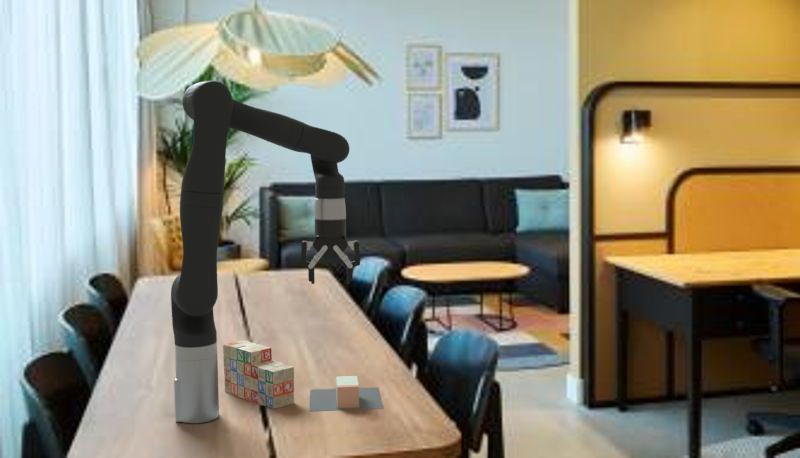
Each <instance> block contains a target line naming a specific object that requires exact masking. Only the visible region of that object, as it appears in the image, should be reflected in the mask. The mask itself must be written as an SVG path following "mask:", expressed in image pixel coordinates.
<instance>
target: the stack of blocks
mask: <svg viewBox="0 0 800 458" xmlns="http://www.w3.org/2000/svg"><path fill="white" fill-rule="evenodd" d="M222 352H223V353H222V354H223V372H224V392H225V393H226V392H227V393H228V394H231V395H233V396H236V397H238V398H241V399H243V400H246V401H250V402H252V403H254V404H256V405H260V406H262V407H263V406H265V407H267V408H271V409H273V410H274V409H278V408H281V407H286V406H288V405H289V406H290V405H292V404H295V395H294V394H295V385H294V384H295V381H294V380H295V367H294V366H292V365H288V364H286V363H283V362H280V361H277V360H273V359H272V356H273V355H272V347H268V346H265V345H262V344H260V343H259V344H258V343H254V342H251V341H248V340H246V339H245V340H242V339H241V340H237V341H234V342H233V341H232V342H229V343H223V344H222Z"/></svg>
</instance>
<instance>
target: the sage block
mask: <svg viewBox="0 0 800 458" xmlns="http://www.w3.org/2000/svg"><path fill="white" fill-rule="evenodd" d="M335 381H336V382H335V383H336V388H335V389H336V390H337V407H338V408H359V388H360V385H359V380H358V376H357V375H349V376H347V375H346V376H345V375H344V376H343V375H342V376H336V377H335Z"/></svg>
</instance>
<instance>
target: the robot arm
mask: <svg viewBox="0 0 800 458" xmlns="http://www.w3.org/2000/svg"><path fill="white" fill-rule="evenodd" d="M181 103H182V109H183V110H184V112H185V114H186V115H187V116H188V117H189V119H191V120H193V139H192V147H191V151H190V154H189V157H188V160H187V163H186V166H185V168H184V171H183V176H182V181H181V186H180V198H179V199H180V200H179V221H180V223H179V224H180V233H181V239H182V251H183V252H182V260H181V261H182V263H181V270H180V273H179V275H177V276H176V277H175V279H174V280H173V282H172V285H171V289H170V302H171V303H170V305H171V319H172V321H171V323H172V325H171V326H172V331H173V336H174V337H173V338H174V355H175V358H174V359H175V363H174V364H175V378H174V381H173V386H174V412H175V423H176V422H177V423H178V422H180V423H186V424H201V423H208V422H211V421H214V420H216V419H218V418H219V417H220V403H219V402H220V399H219V397H220V396H219V395H220V394H219V393H220V390H219V365H218V362H219V361H218V342H217V341H218V337H217V336H218V335H217V334H218V333H217V328H216V324H215V316H214V307H215V305H216V304H217V301H218V297H219V294H218V292H219V288H218V287H219V286H218V264H217V262H218V247H219V240H220V235H221V234H220V233H221V225H222V217H223V209H224V208H223V207H224V196H225V194H224V193H225V177H226V175H225V174H226V173H225V171H226V157H227V156H226V154H227V153H226V152H227V150H226V149H227V143H228V136H229V130H230V129H231V130H232V129H233V130H236V131H239V132H241V133H245V134H247V135H250V136H253V137H256V138H258V139H261V140H264V141H266V142H268V143H270V144H271V143H272V144H274V145H276V146H278V147H282V148H284V149H286V150H287V149H288V150H289V151H294V152H298V153H305V154H307V155H310V161H311V167H312V171H313V175H314V180H315V185H314V187H315V189H314V190H315V192H314V193H315V200H314V215H313V216H314V239H313V241H307V240H302V243H301V249H300V251H301V256H300V265H301V266H302V267H304V268H307V270H308V272H307V273H308V274H307V275H308V281H309V282H310V283H311V285H315V283H316V282H315V266H316V265H317V263H318V262H319V261H320V259H321V258H322V259H324V260H330V259H332V260H338V259H341V260H342V261H343V263H344V264H345V265H346V284H348V285H349V284H350V282H353V277H354V276H353V269H354V268H355V267H358V266H360V265H361V258H360V257H361V255H360V243H359V240H356V239H355V240H352V241H351V240H350V241H348V240H347V209H346V208H347V207H346V200H345V198H346V196H345V195H346V194H345V193H346V192H345V190H346V185H345V178H344V175H342V173H340V171H339V166H338V164H339V163H341V162H343V161H345V160H346V159H347V158H348V156H349V154H350V145H349V142H348V140H347V139H346V138H345V137H344V136H343V135H341V134H340V133H337V132H334V131H331V130H328V129H324V128H320V127H315V126H312V125H309V124H307V123H305V122H303V121H301V120H298V119H295V118H293V117H290V116H287V115H284V114H281V113H278V112H274V111H270V110H268V109H267V110H266V109H261V108H258V107H254V106H252V105H248V104H246V103H243V102H241V101H238V100H237V99H235V98H233V96H232V93H231V90H229V88H228V87H227V86H226V85H225V84H223V82H220V81H216V80H204V81H200V82H197V83H193V84H192V85H190V86H189V87H188V88H187V89H186V90H185V91H184V93H183V96H182V101H181ZM348 246H349V247H350V249H351V250H352V251H353V253H354V254H353V255H354V260H353V261H351V260H350V258H349V256H347V254H346V253H345V251H346V249H347V248H348ZM311 247H313V248H314V250H315V251H316V253H315V255H314V256H313V258H312V259H311V261H307V254H308V253H307V252H308V251H310V250H311Z"/></svg>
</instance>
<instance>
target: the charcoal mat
mask: <svg viewBox="0 0 800 458" xmlns="http://www.w3.org/2000/svg"><path fill="white" fill-rule="evenodd" d="M357 410H359V411H360V410H362V411H363V410H365V411H366V410H384V406H383V401H382V397H381V393H380V388H379V387H378V386H374V387H373V386H372V387H359V408H338V407H337V390H336V388H320V389H319V388H318V389H310V391H309V412H311V413H312V412H333V411H335V412H336V411H338V412H339V411H357Z"/></svg>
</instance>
